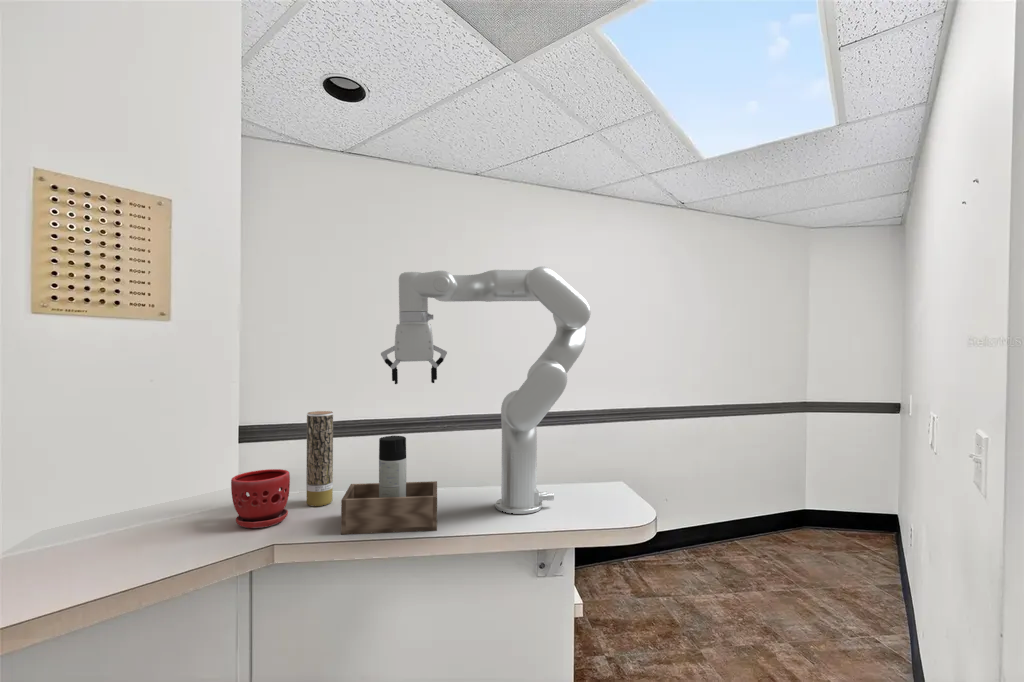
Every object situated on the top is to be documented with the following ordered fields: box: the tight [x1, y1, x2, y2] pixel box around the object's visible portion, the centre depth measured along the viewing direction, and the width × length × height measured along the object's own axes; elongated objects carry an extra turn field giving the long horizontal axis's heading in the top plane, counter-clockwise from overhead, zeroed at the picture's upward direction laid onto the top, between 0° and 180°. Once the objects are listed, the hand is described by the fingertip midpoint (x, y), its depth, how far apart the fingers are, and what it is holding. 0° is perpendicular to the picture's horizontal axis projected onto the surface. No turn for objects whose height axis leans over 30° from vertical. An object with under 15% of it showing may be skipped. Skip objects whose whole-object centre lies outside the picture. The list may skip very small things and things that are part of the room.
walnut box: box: [340, 480, 438, 536], centre depth 132 cm, size 22×14×8 cm, turn 98°
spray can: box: [378, 435, 407, 498], centre depth 132 cm, size 7×7×20 cm
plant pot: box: [230, 468, 291, 529], centre depth 131 cm, size 13×13×12 cm
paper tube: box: [305, 410, 334, 507], centre depth 147 cm, size 7×7×25 cm
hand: (414, 383), depth 142 cm, fingers open, 9 cm apart
